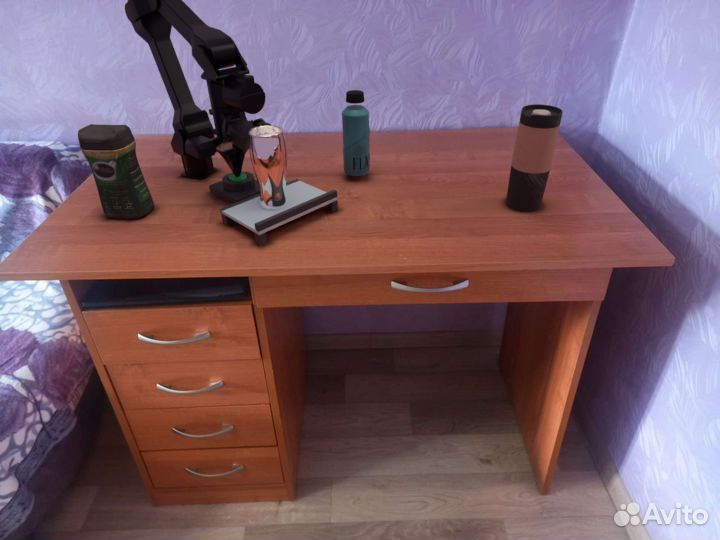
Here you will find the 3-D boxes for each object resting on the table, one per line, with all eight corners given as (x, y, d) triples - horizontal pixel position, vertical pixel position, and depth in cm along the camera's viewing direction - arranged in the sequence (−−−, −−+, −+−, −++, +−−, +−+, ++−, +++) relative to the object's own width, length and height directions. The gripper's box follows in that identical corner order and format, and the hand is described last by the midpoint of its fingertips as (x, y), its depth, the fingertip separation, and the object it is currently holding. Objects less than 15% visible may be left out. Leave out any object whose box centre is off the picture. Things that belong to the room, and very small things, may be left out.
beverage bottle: (350, 184, 111) (348, 96, 100) (338, 174, 116) (335, 89, 105) (375, 179, 113) (375, 92, 102) (362, 169, 118) (361, 86, 107)
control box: (210, 193, 108) (206, 177, 106) (243, 181, 114) (240, 165, 111) (238, 208, 102) (235, 191, 100) (271, 194, 107) (269, 178, 105)
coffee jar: (160, 204, 104) (136, 119, 93) (142, 221, 97) (114, 132, 87) (119, 202, 105) (91, 118, 94) (98, 219, 98) (66, 131, 88)
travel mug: (542, 199, 103) (563, 105, 92) (541, 214, 97) (563, 117, 86) (506, 194, 105) (522, 102, 94) (503, 209, 100) (520, 113, 88)
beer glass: (293, 209, 94) (285, 135, 86) (258, 212, 93) (246, 138, 85) (290, 194, 100) (283, 123, 91) (257, 197, 99) (246, 126, 90)
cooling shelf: (222, 223, 97) (218, 203, 94) (298, 191, 108) (296, 173, 106) (260, 246, 89) (257, 225, 86) (338, 210, 100) (337, 190, 98)
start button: (226, 183, 106) (225, 176, 105) (241, 178, 109) (240, 171, 108) (236, 188, 104) (235, 181, 103) (251, 183, 106) (250, 175, 105)
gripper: (205, 123, 86) (220, 200, 95) (286, 102, 97) (293, 173, 106) (175, 111, 93) (192, 185, 102) (254, 92, 104) (263, 160, 113)
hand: (237, 176), depth 105 cm, fingers closed, pressing on start button
